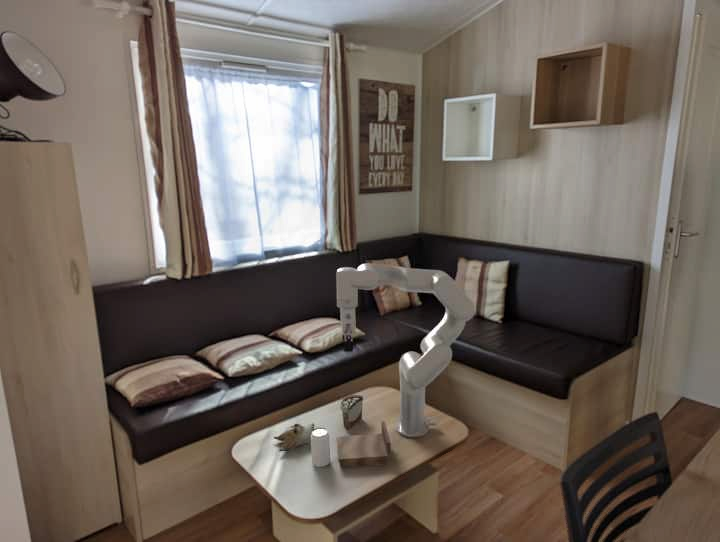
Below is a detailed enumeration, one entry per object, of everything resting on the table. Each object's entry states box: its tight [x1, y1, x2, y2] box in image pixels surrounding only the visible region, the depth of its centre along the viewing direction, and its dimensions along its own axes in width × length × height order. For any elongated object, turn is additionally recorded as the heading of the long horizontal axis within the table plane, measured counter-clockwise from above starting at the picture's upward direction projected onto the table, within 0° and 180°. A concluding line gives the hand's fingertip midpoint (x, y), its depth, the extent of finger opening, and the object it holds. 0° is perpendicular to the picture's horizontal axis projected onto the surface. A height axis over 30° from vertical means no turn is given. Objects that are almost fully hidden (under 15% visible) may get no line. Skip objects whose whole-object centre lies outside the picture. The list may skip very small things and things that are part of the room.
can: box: [310, 427, 331, 468], centre depth 177 cm, size 6×6×12 cm
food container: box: [339, 394, 364, 431], centre depth 202 cm, size 12×6×10 cm, turn 149°
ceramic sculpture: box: [273, 422, 315, 452], centre depth 188 cm, size 11×9×15 cm
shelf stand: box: [336, 420, 392, 469], centre depth 180 cm, size 18×14×9 cm
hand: (347, 346), depth 186 cm, fingers open, 9 cm apart
